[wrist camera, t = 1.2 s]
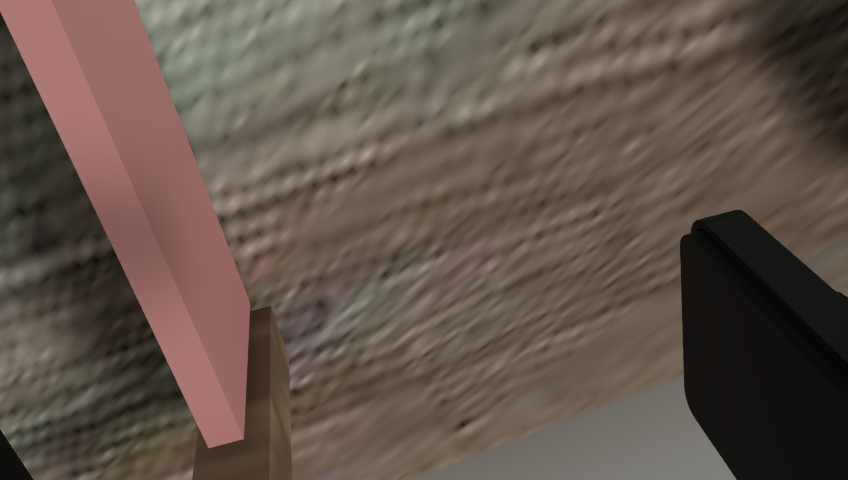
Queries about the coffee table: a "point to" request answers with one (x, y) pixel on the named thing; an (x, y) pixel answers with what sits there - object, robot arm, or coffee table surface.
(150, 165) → the gate
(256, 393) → the gate posts
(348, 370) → the coffee table surface
